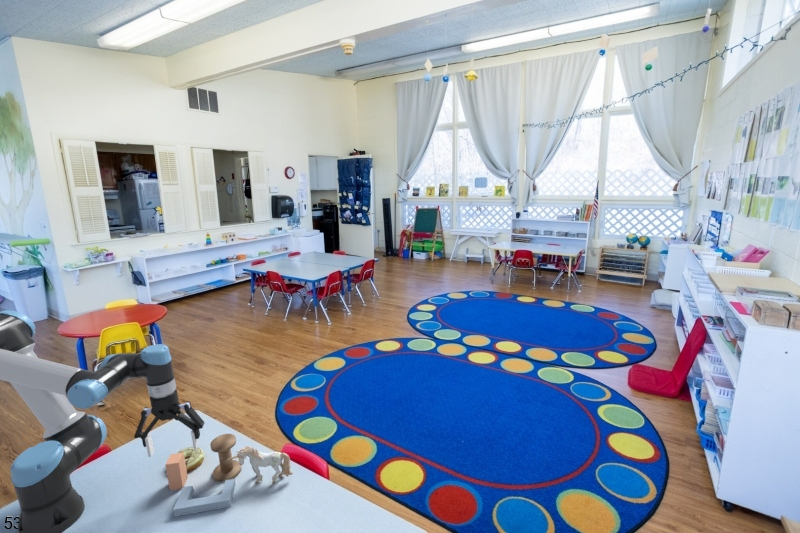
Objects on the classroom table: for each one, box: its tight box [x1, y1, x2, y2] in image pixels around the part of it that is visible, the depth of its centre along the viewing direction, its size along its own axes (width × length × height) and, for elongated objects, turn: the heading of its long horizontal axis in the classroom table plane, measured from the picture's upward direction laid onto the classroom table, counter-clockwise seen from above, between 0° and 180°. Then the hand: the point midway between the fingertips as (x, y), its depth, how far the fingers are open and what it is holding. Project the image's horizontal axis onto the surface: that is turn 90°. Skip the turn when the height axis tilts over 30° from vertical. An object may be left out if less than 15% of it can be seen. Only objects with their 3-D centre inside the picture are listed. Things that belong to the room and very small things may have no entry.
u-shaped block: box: [173, 478, 237, 517], centre depth 125 cm, size 16×9×2 cm, turn 102°
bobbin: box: [209, 433, 242, 483], centre depth 136 cm, size 9×9×12 cm
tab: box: [164, 452, 189, 491], centre depth 131 cm, size 4×5×10 cm
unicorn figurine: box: [227, 445, 294, 484], centre depth 132 cm, size 7×20×13 cm, turn 107°
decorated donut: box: [177, 446, 205, 472], centre depth 142 cm, size 10×11×4 cm
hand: (174, 450), depth 129 cm, fingers open, 13 cm apart
